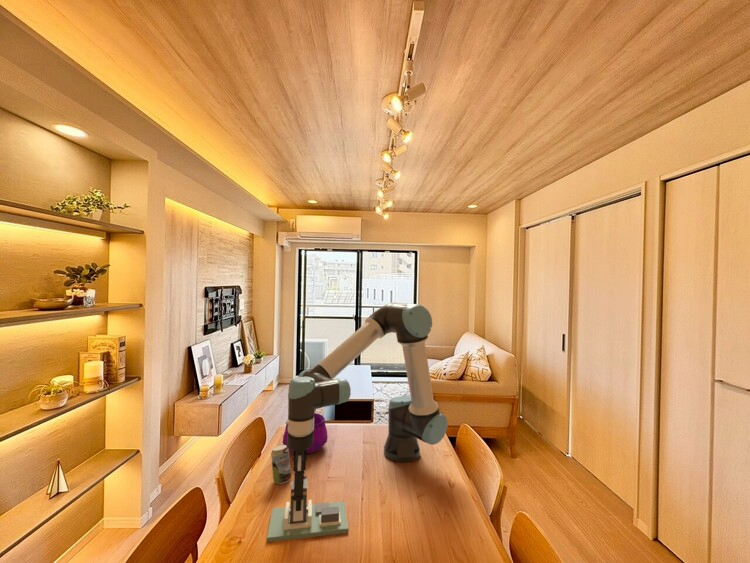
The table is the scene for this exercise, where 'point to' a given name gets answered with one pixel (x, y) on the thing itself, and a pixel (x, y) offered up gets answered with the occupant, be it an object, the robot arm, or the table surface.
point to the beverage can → (281, 464)
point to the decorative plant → (319, 434)
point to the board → (308, 522)
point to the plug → (303, 502)
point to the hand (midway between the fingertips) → (298, 511)
